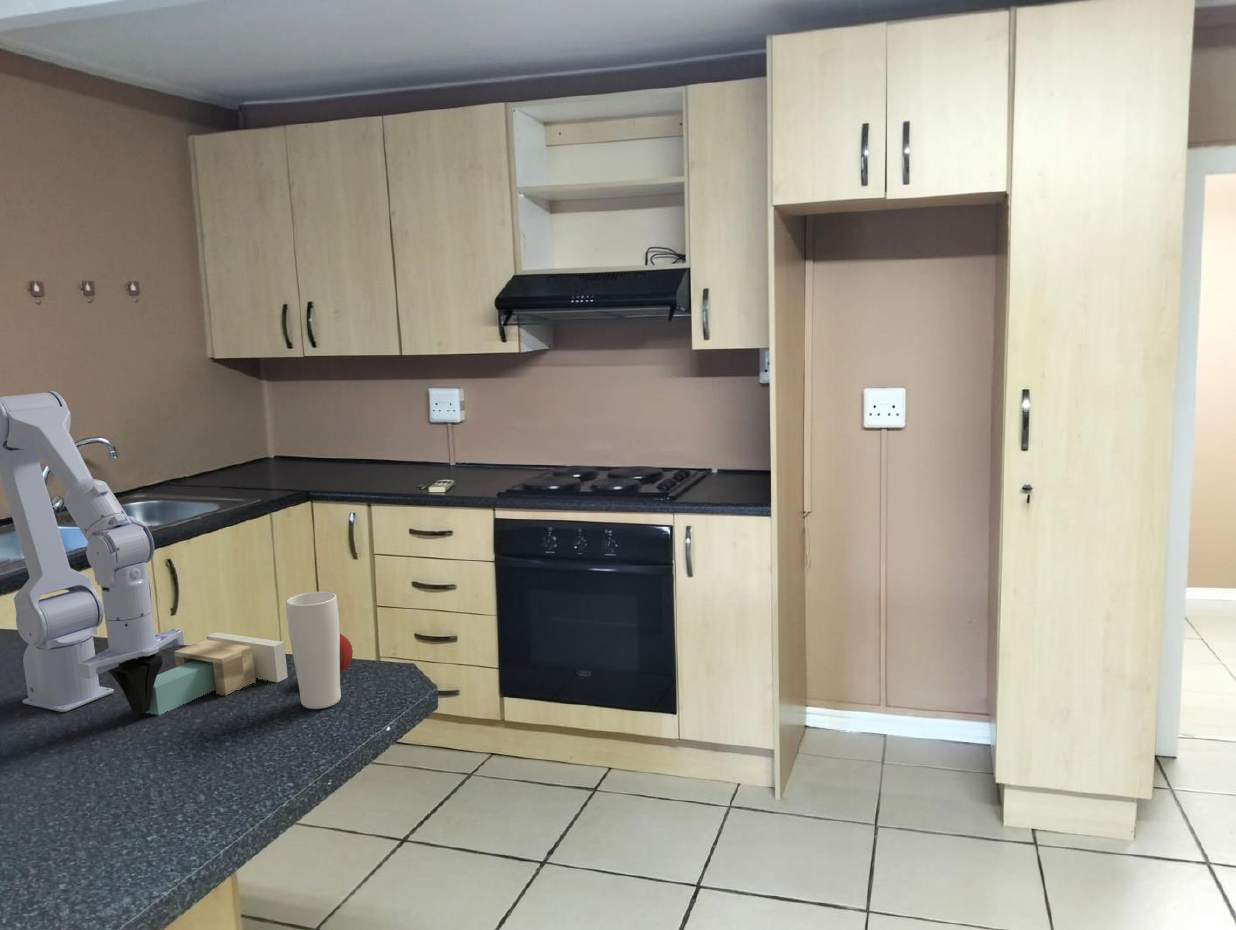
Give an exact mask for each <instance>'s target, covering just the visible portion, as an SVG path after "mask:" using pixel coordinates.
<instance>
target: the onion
mask: <svg viewBox="0 0 1236 930" xmlns="http://www.w3.org/2000/svg"><path fill="white" fill-rule="evenodd" d="M353 652H354V651H353V646H352V644H351V641H350V640H349V639H348V638H347V637H346V636H344V635H343V634H341V633H340V675H341V674H342V673H343V672H345V670H347V668H349V666H350V665H351V662H352V660H353V654H354V653H353Z"/></svg>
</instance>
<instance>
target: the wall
mask: <svg viewBox="0 0 1236 930" xmlns="http://www.w3.org/2000/svg"><path fill="white" fill-rule="evenodd" d="M205 637H206V640H211V641H218V642H224V643H231V644H237V645H244V646H250V647H252V652H253V661H254V670H255V679H256V678H258V680H262V679H263V680H262V681H267V680H268V682H274V683H279V682H281V681H283V680H286V679H287V678H288V677H289V676H288V668H287V659H286V647H285V642H284V641H280V640H273V639H271V640H270V639H266V638H265V639H264V638H258V637H253V636H251V637H250V636H246V635H245V636H244V635H239V634H231V633H224V632H217V631H216V632H214V633H210V634H208V635H206V636H205Z"/></svg>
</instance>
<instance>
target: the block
mask: <svg viewBox="0 0 1236 930" xmlns="http://www.w3.org/2000/svg"><path fill="white" fill-rule="evenodd" d="M173 654H174V662H175V668H176V667H178V666H181V665H183V664H186V663H188V662H191V661H193V660H202V661H208V662H213V667H214V676H215V684H216V690H215V692H216V695H217V694H220V695H219V696H223V695H225V696H224V697H227V696H226V695H228V694H230V693H232V692H234V691H235V690H238V691H240V689H241V688H243V687H245V686H247V685H249V684H252V683H254V684H256V683H257V682H256V681H257V679H256V678H255V670H254V661H253V652H252V647H250V646H244V645H237V644H231V643H224V642H218V641H211V640H207V639H203V640H200V641H197V642H195V643H192V644H190V645H188V646H184V647H182V648H179V649H177V650H174V651H173ZM252 685H253V684H252ZM249 686H250V685H249ZM247 687H248V686H247ZM245 688H246V687H245ZM243 689H244V688H243ZM241 690H242V689H241ZM234 693H235V692H234ZM221 694H222V695H221ZM232 694H233V693H232ZM230 695H231V694H230ZM228 696H229V695H228Z"/></svg>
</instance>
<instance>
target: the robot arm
mask: <svg viewBox="0 0 1236 930" xmlns="http://www.w3.org/2000/svg"><path fill="white" fill-rule="evenodd" d="M71 417H72V416H71V411H70V410H69V408H68V405H67V403H66V401H65V399H64V398H63V397H62V396H61V395H60V393H58V392H56V391H55V390H48V391H44V392H39V393H38V392H37V393H36V392H35V393H29V394H27V393H26V394H16V395H8V396H7V395H6V396H0V481H1V483H2V488H3V491H4V495H5V497H6V498H5V499H6V502H7V505H8V508H9V511H10V512H9V513H10V516H11V518H12V522H13V524H14V529H15V532H16V535H17V538H18V541H19V545H20V546H19V547H20V549H21V553H22V555H23V559H24V562H25V565H26V569H27V572H28V576H29V578H28V580H27V581H26V582H25V583H24V584H23V586H22V587H21V588H20V589H19V590H18V592H16V594H15V596H14V597H13V602H14V607H15V614H16V615H15V625H16V628H17V631H18V634H19V636H20V637H21V638H22V640H23V641H24V642H25V643H27V644H28V645H27V647H26V649H25V651H24V653H23V656H22V657H23V659H22V662H23V670H24V676H25V683H26V691H27V696H28V697H27V698H24V699H22V704H24V705H29V706H34V707H38V708H43V709H48V710H52V711H56V712H61V713H65V712H69V711H71V710H73V709H76V708H78V707H81V706H83V705H86V704H88V703H91V702H93V701H96V700H98V699H101V698H104V697H106V696H108V695H110V694H113V693H114V692H115V690H114V688H110V687H106V686H100V681H99V680H100V679H99V675H100V674H102V673H105V672H107V671H108V673H109V674H110V675H111V676H112V677H113V679H114V680H115V681H116V682H117V684H118V685H119V687H120V688H121V690H122V691H123V694H124V695H125V698H126V700H127V702H128V705H129V707H130V710H131V712H132V713H137V714H144V713H145V712H147V711H149V710H150V703H151V697H152V691H153V687H154V683H155V680H156V677H157V675H159V672H160V670H161V668H162V666H163V664H164V663H163V656H160V655H156V654H157V653H159V652H160V651H162V650H165V649H169V648H171V647H173V646H181V645H184V644H185V640H184V630H183V629H175V628H172V629H169V630H166V631H162V632H158V633H155V632H156V631H155V624H154V623H155V622H154V615H153V614H154V613H153V607H152V606H153V605H152V598H151V590H150V589H151V588H150V581H149V573H148V565H147V563H149V562H151V560H152V559H153V558H154V555H155V541H154V537H153V535H152V533H151V532H150V529H149V527H148V525H147V524H145V523H144V522H142V521H139V520H137V519H136V518H135V516H132V515H130V516H129V515H128V514H127V513H126V511H125V509H124V508H123V506H122V505H121V503H120V502H119V500H118V499H117V497H116V496H115V495H114V493H113V492H112V491H113V490H111V488H110V487H109V485H108V483H107V482H105V481H103V480H99V479H94V478H93V476H92V474H91V472H90V470H89V468H88V467H87V465H86V462H85V461H84V458H83V457H82V454H81V453H80V450H79V449H78V447H77V445H76V443H75V442H74V439H73V437H72V436H71V433H70V429H71V420H72V419H71ZM41 460H42V461H43V463H44V464H45V466H46V467H47V468H48V469H49V470H50V472H51V473H52V475H54V477H55V478H56V479H57V481H58V482H59V483H60V485H61V486H62V487H63V489H64V490H65V491H66V494H65V496H64V499H63V505H64V506H65V508H66V509H67V511H68V512H69V514H70V516H71V517H72V519H73V520H74V522H75V524H76V525H77V527H78V528H79V530H80V531H81V533H82V534H83V536H84V538H85V539H86V541H87V546H86V550H85V554H86V558H87V561H88V563H89V565H90V567H91V569H92V571H93V574H94V580H95V582H96V585H98V586H99V587H100V590H101V595H100V594H99V593H98V592H97V591H96V588H95V586H94V584H93V581H92V578H91V577H90V576H89V575H87V574H85V573H82V572H79V571H78V570H76V569H74V568H71V565H70V563H69V559H68V556H67V552H66V549H65V545H64V543H63V539H62V536H61V531H60V529H59V525H58V521H57V518H56V514H55V512H54V509H53V505H52V501H51V497H50V494H49V492H48V491H49V490H48V487H47V485H46V482H45V478H44V474H43V472H42V468H41ZM59 591H67V592H63V593H59V594H56V595H52V596H48V597H45V598H42V597H43V596H44V595H48V594H52V593H56V592H59ZM41 598H42V599H41ZM103 620H104V621H105V628H106V629H105V630H106V636H107V644H108V648H106V649H104V650H103V651H100V652H99V653H97V654H96V649H95V643H94V636H95V635H97V634H98V628H99V627H100V626H101V624H102V623H103ZM145 714H146V713H145Z"/></svg>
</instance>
